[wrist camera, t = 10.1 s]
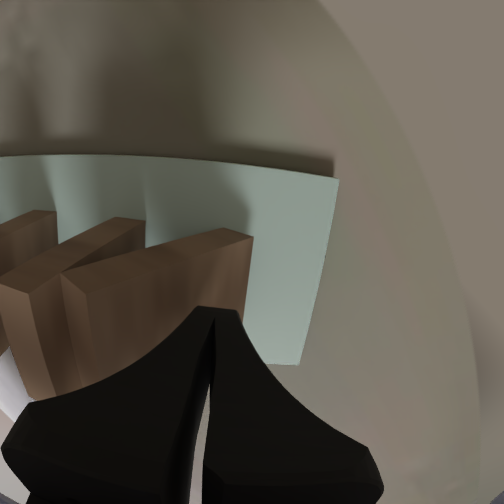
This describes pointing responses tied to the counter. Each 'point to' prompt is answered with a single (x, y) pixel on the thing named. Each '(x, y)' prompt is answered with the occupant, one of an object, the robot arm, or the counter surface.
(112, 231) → the domino
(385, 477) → the counter surface
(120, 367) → the domino
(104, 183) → the board
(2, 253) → the domino
